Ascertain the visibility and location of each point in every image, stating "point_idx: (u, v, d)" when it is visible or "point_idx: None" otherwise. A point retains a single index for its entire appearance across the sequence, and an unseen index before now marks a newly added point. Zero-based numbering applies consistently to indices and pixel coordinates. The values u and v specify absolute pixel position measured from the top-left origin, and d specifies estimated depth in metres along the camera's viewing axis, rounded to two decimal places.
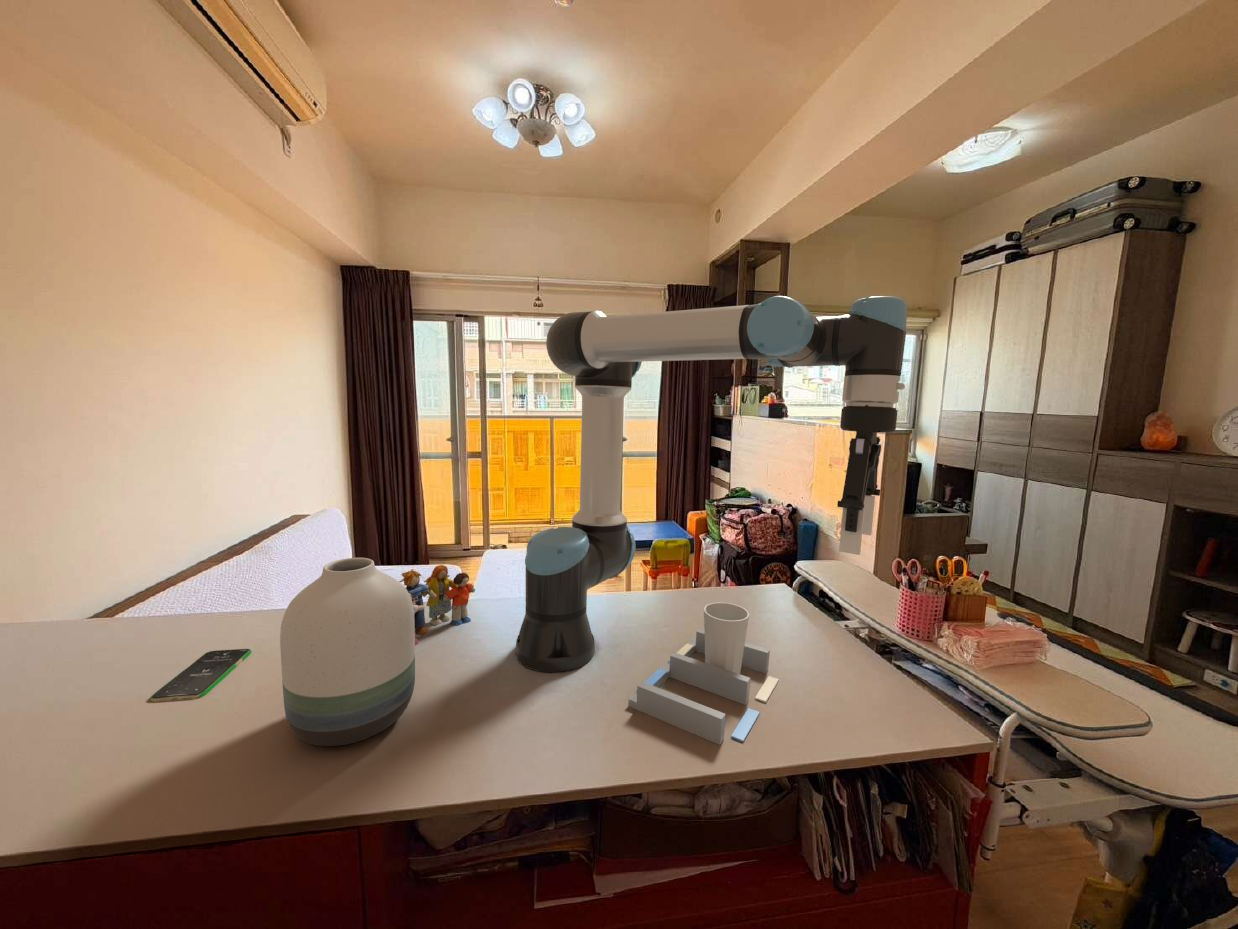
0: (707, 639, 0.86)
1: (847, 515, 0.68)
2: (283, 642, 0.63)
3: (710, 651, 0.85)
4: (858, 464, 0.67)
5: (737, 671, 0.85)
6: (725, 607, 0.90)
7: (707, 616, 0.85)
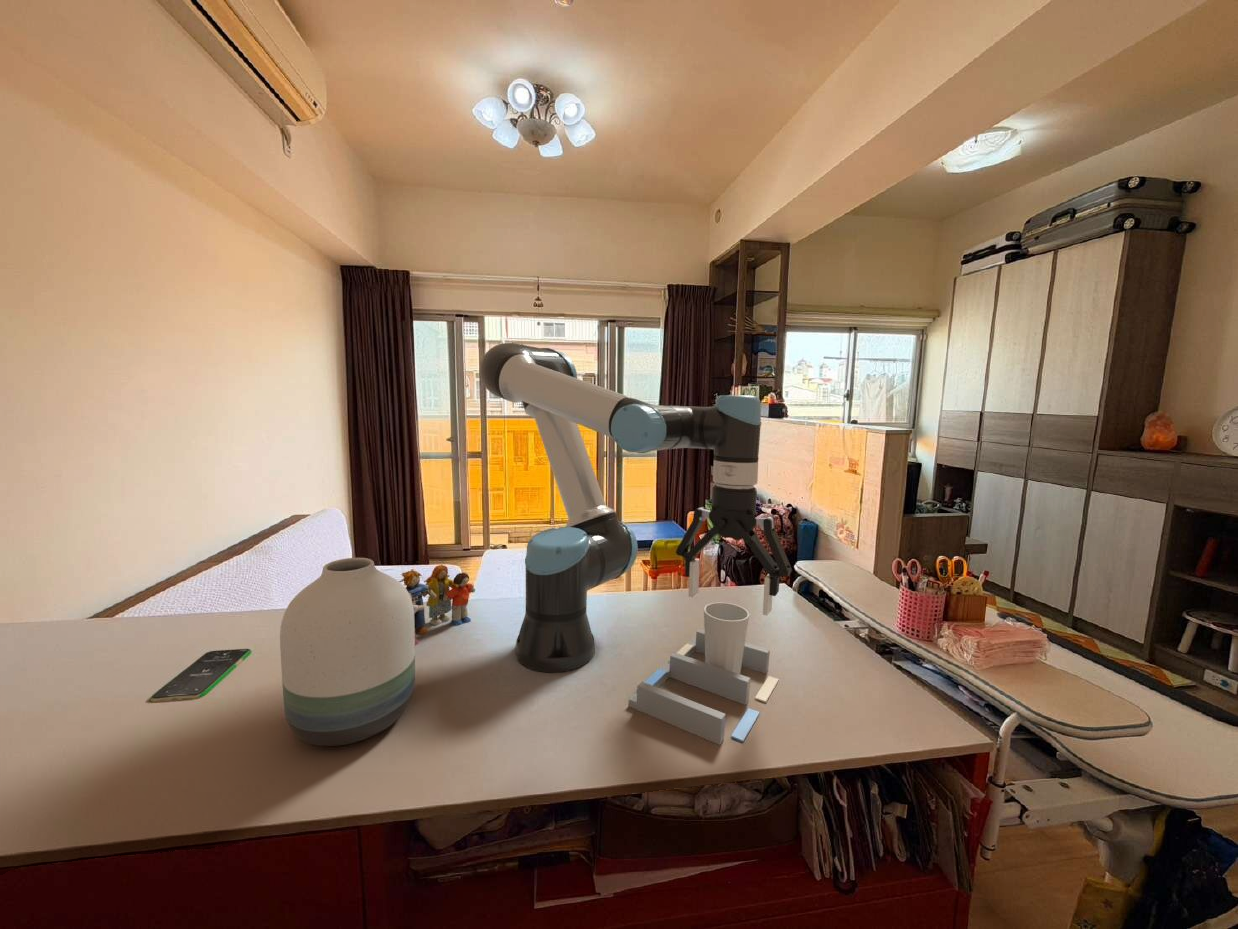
0: (707, 639, 0.86)
1: None
2: (283, 642, 0.63)
3: (710, 651, 0.85)
4: None
5: (737, 671, 0.85)
6: (725, 607, 0.90)
7: (707, 616, 0.85)
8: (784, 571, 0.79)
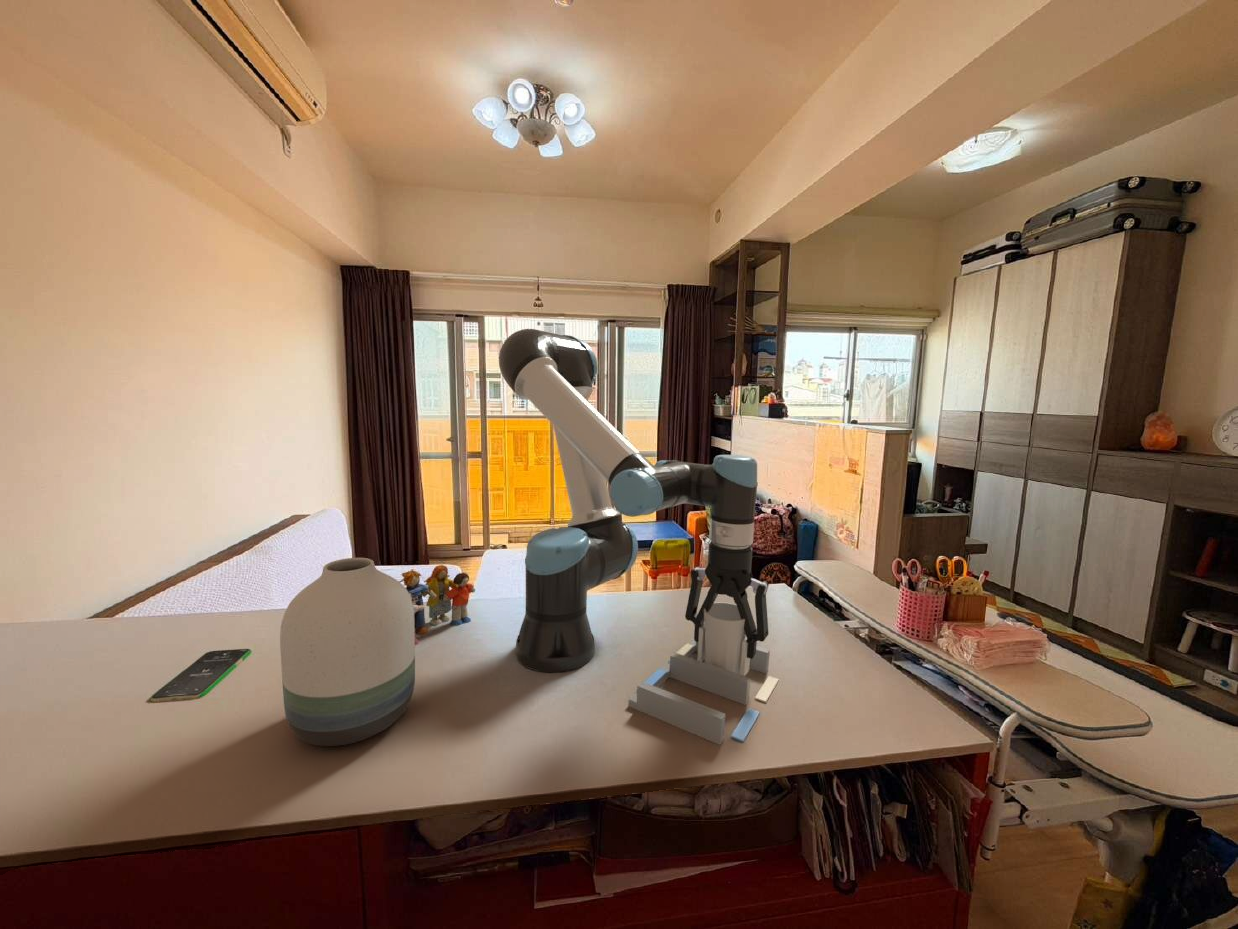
0: (707, 639, 0.86)
1: None
2: (283, 642, 0.63)
3: (710, 651, 0.85)
4: None
5: (737, 671, 0.85)
6: (725, 607, 0.90)
7: (707, 616, 0.85)
8: (761, 637, 0.82)
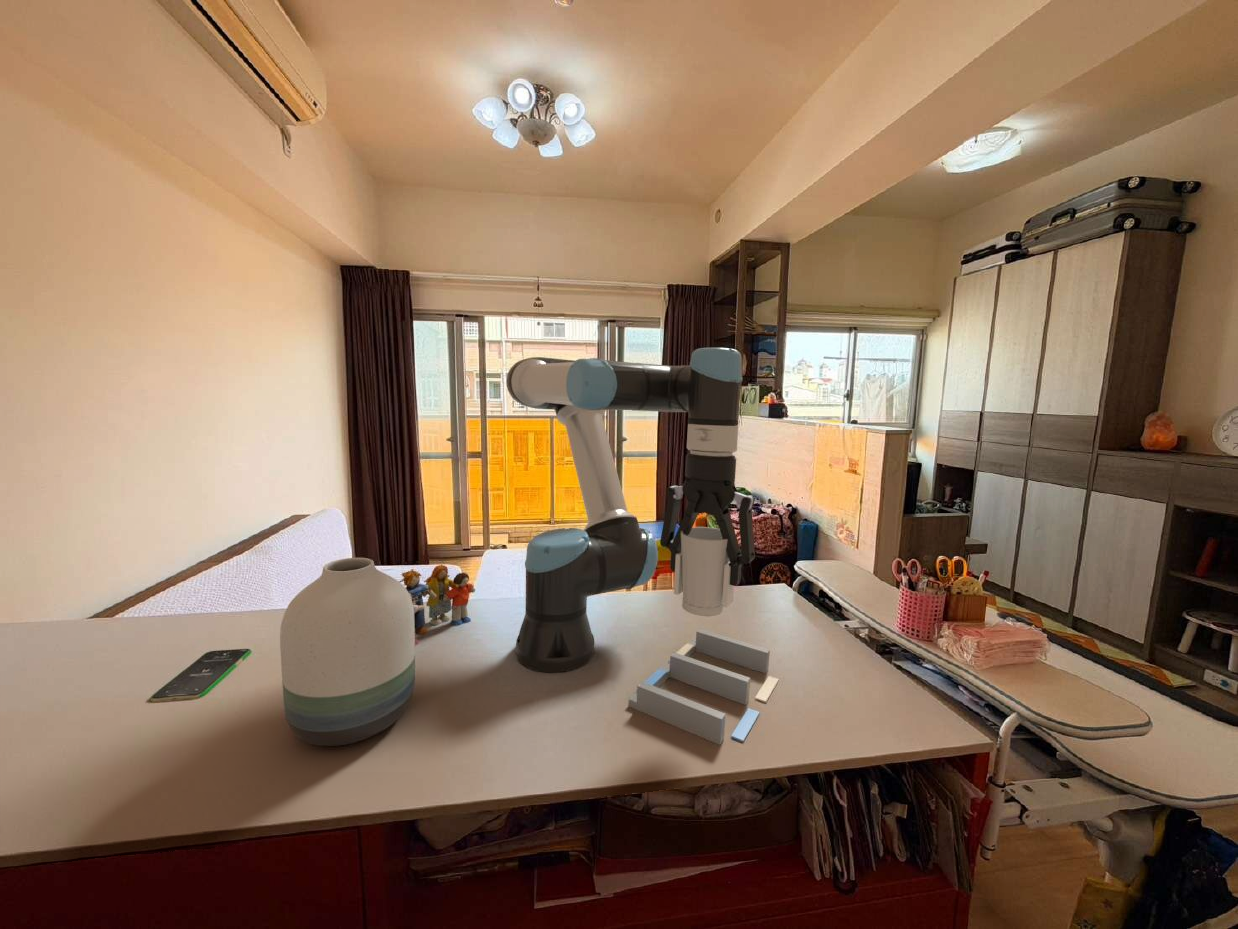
0: (684, 565, 0.74)
1: None
2: (283, 642, 0.63)
3: (688, 578, 0.73)
4: None
5: (719, 601, 0.73)
6: (706, 532, 0.78)
7: (684, 537, 0.73)
8: (746, 558, 0.70)
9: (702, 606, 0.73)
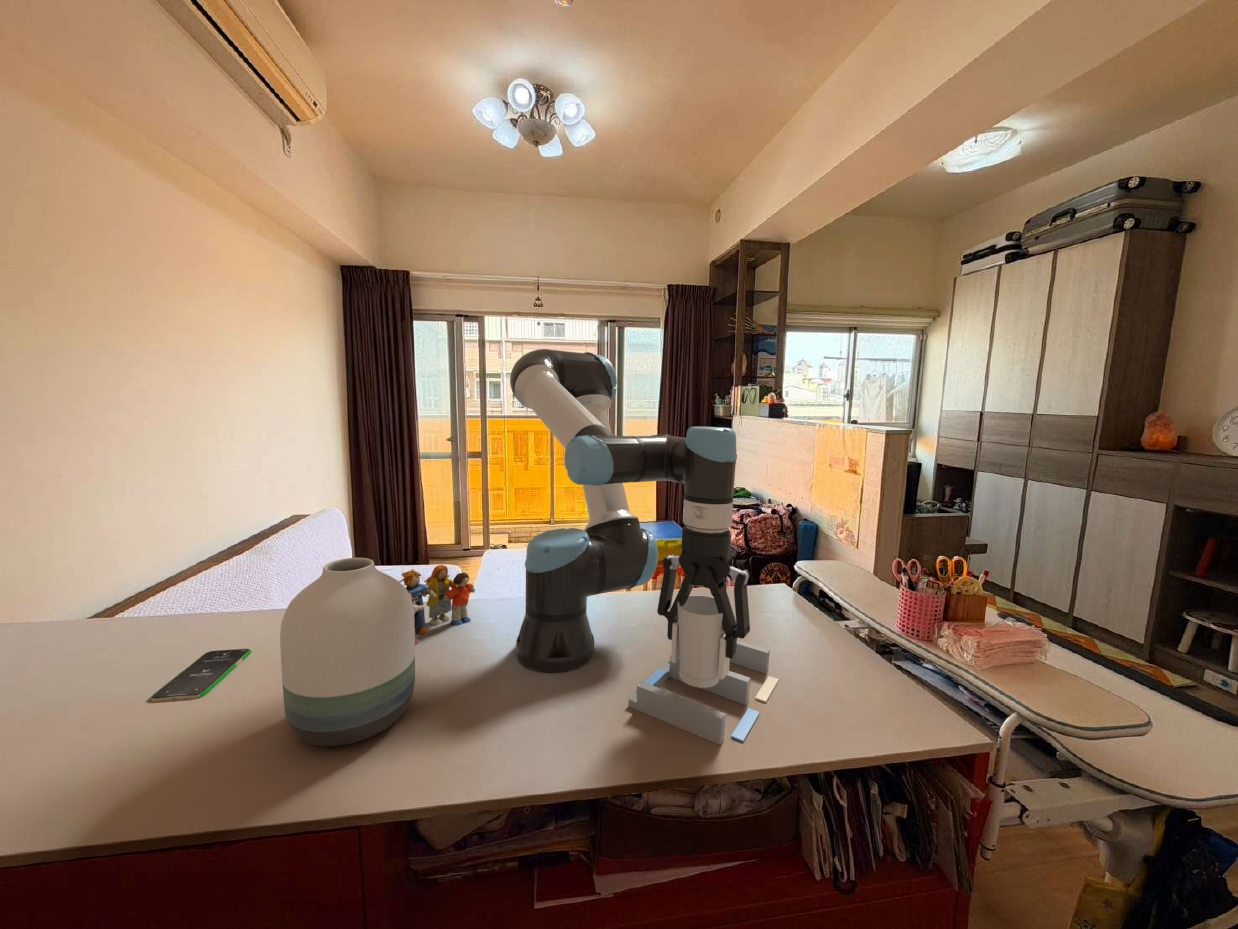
0: (681, 636, 0.75)
1: None
2: (283, 642, 0.63)
3: (684, 650, 0.75)
4: None
5: (715, 673, 0.75)
6: (703, 601, 0.79)
7: (680, 610, 0.74)
8: (741, 633, 0.71)
9: (698, 678, 0.74)
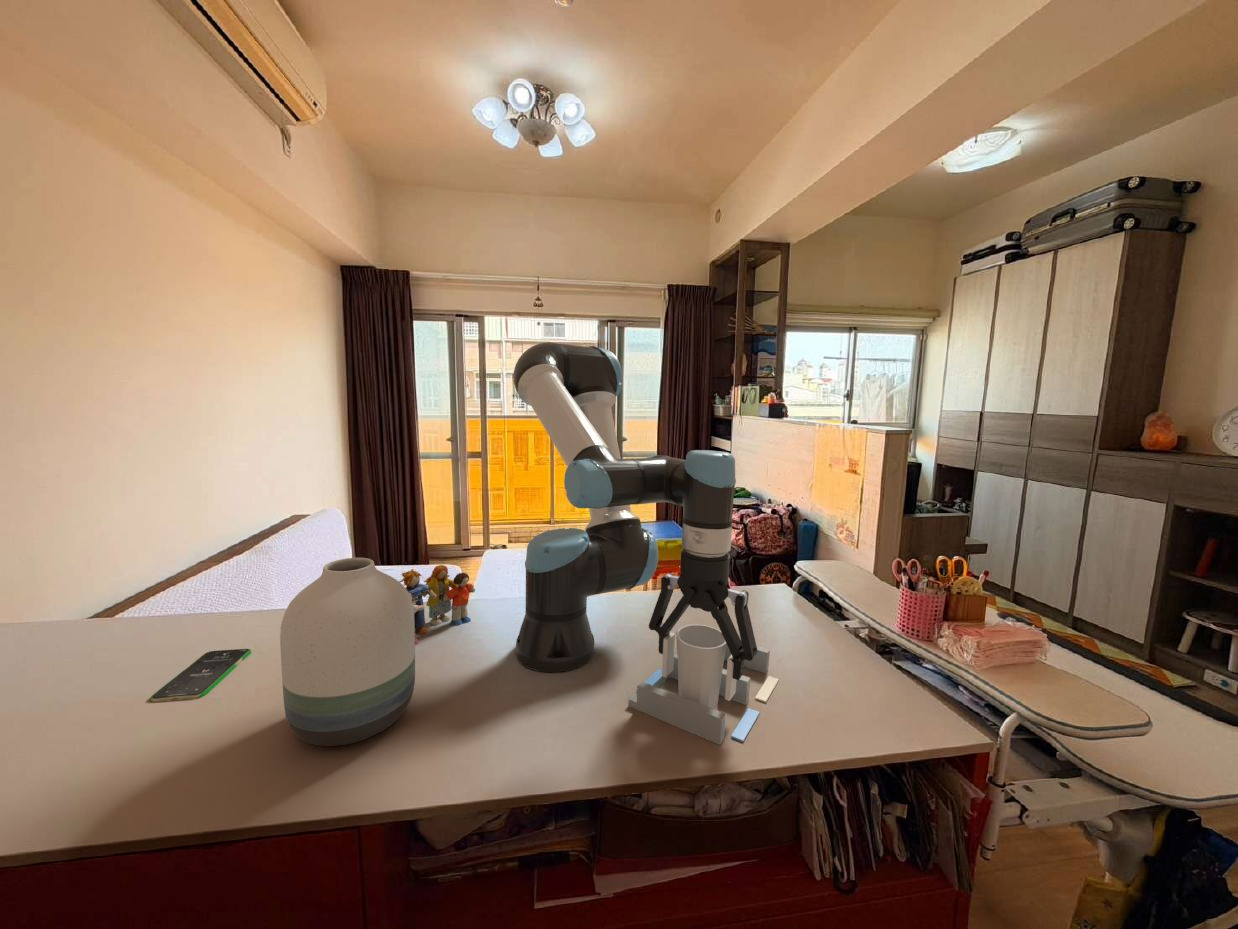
0: (680, 667, 0.76)
1: None
2: (283, 642, 0.63)
3: (683, 681, 0.75)
4: None
5: (713, 704, 0.75)
6: (701, 630, 0.80)
7: (679, 642, 0.75)
8: (748, 655, 0.71)
9: None
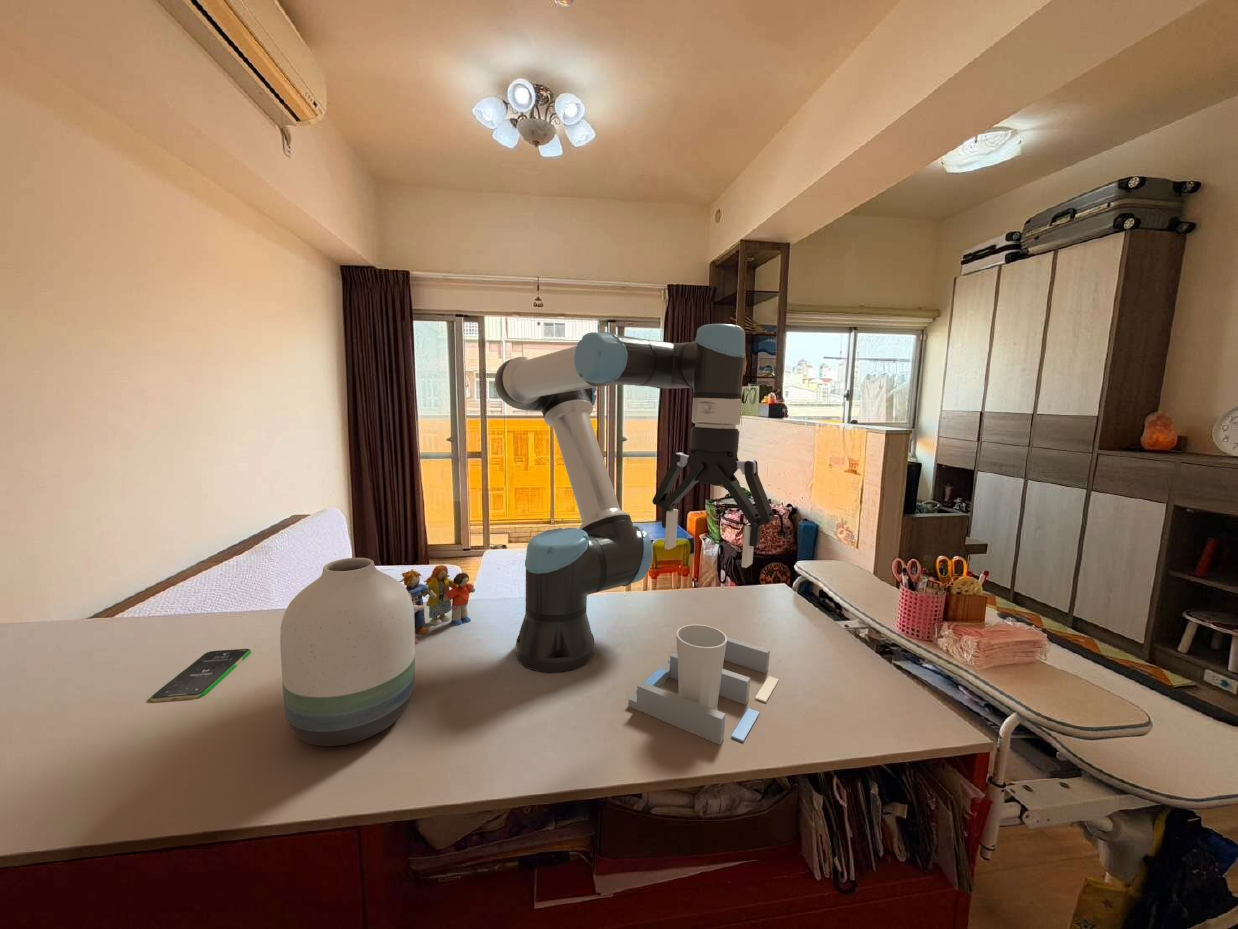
0: (680, 667, 0.76)
1: None
2: (283, 642, 0.63)
3: (683, 681, 0.75)
4: None
5: (713, 703, 0.75)
6: (701, 630, 0.80)
7: (679, 641, 0.75)
8: (765, 518, 0.71)
9: None
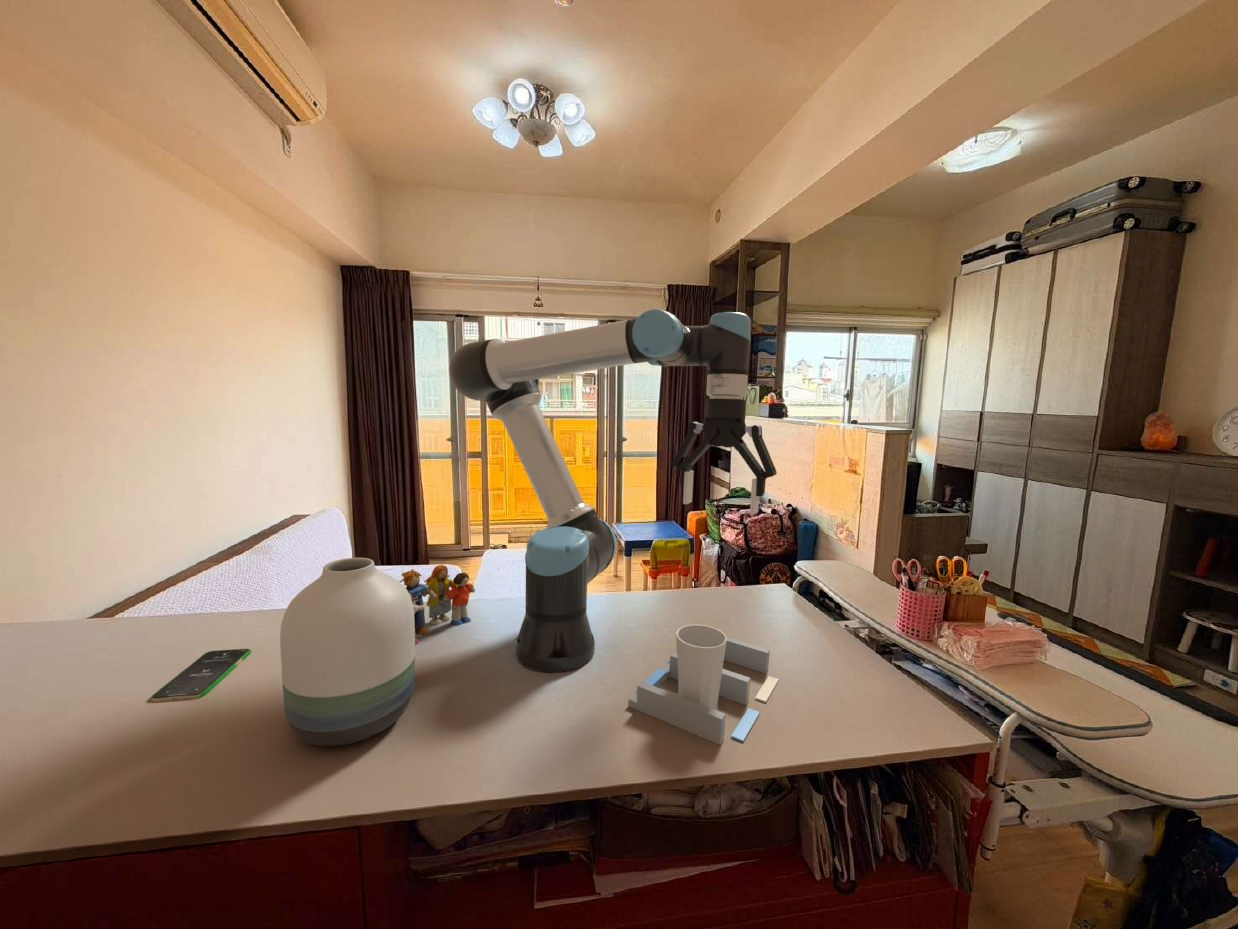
0: (680, 667, 0.76)
1: None
2: (283, 642, 0.63)
3: (683, 681, 0.75)
4: None
5: (713, 703, 0.75)
6: (701, 630, 0.80)
7: (679, 642, 0.75)
8: (769, 472, 0.87)
9: None
